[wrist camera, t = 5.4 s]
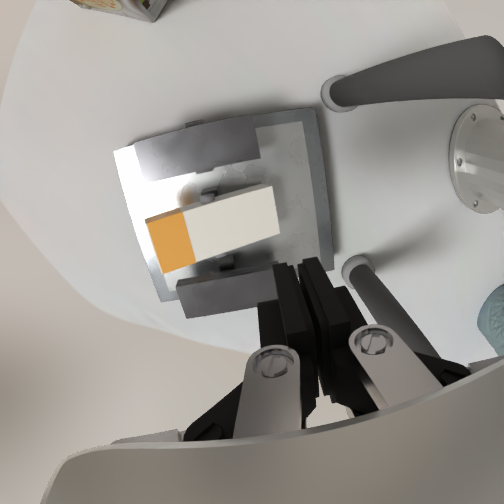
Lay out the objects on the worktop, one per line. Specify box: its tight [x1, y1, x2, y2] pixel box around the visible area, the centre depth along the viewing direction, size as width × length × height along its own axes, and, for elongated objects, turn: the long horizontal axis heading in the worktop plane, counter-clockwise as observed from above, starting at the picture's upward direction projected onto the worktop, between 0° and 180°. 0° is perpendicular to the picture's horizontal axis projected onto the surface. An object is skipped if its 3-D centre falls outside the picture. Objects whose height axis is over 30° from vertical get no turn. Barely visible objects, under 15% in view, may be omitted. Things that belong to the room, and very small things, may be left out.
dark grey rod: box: [341, 255, 441, 359], centre depth 21 cm, size 3×3×18 cm
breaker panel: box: [113, 107, 334, 319], centre depth 23 cm, size 16×15×6 cm
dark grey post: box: [321, 35, 504, 112], centre depth 14 cm, size 3×3×18 cm
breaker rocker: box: [144, 184, 280, 274], centre depth 21 cm, size 9×4×2 cm, turn 101°
